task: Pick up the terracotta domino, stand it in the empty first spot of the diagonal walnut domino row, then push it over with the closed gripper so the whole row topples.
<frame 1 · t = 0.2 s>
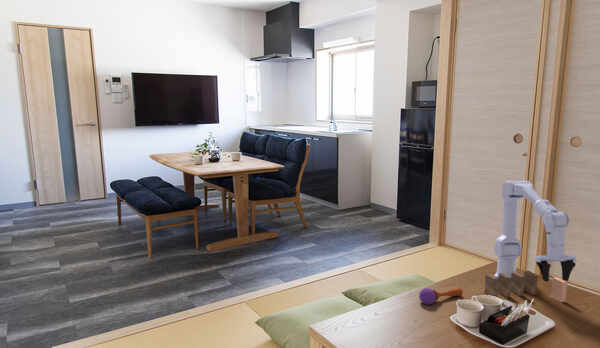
hand: (555, 280, 154), 10 cm above the table, tool pointing down, fingers open, 7 cm apart
walnut domino 3: (516, 293, 168), on the table
walnut domino 2: (529, 291, 169), on the table
terracotta domino: (557, 299, 163), on the table
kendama: (440, 300, 161), on the table
walnut domino 5: (490, 295, 166), on the table
walnut domino 4: (503, 294, 167), on the table
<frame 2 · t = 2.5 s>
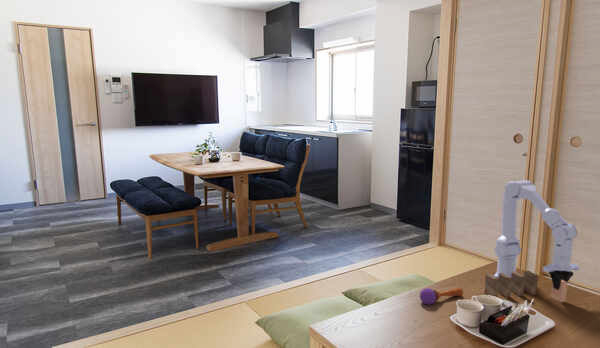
hand: (558, 288, 162), 4 cm above the table, tool pointing down, fingers closed on terracotta domino, 2 cm apart
terracotta domino: (557, 299, 163), on the table, touching gripper
everything else where it was.
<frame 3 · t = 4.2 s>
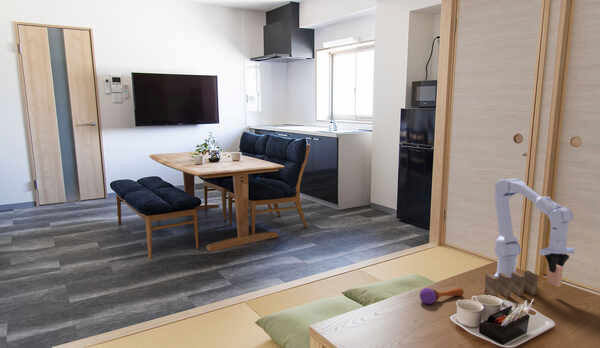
hand: (554, 271, 164), 10 cm above the table, tool pointing down, fingers closed on terracotta domino
terracotta domino: (553, 284, 164), point 5 cm above the table, touching gripper
everything else where it was.
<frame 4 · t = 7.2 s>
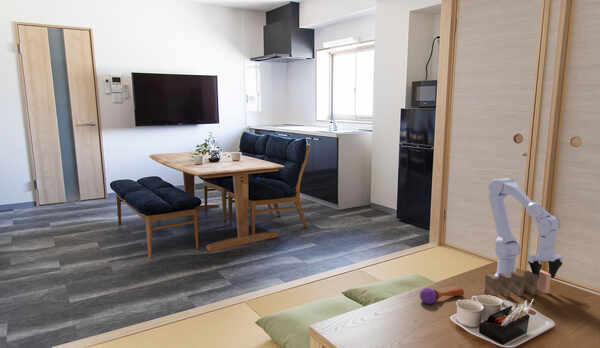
hand: (543, 277, 170), 6 cm above the table, tool pointing down, fingers open, 7 cm apart
terracotta domino: (542, 290, 170), on the table
everything else where it was.
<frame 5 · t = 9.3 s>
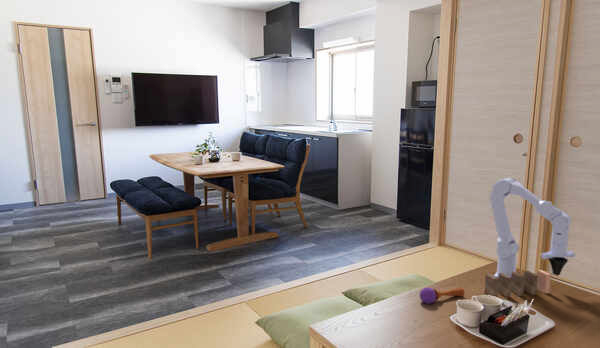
hand: (556, 274, 170), 7 cm above the table, tool pointing down, fingers closed
nothing on the table moved.
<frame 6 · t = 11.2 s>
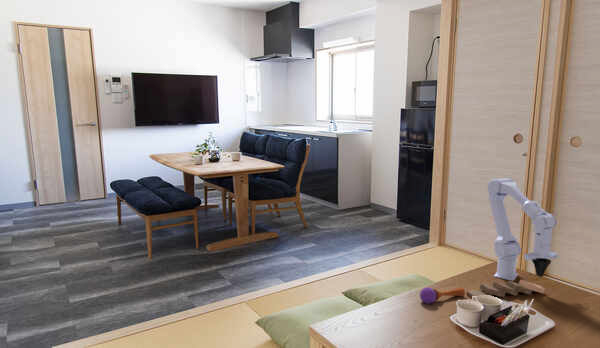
hand: (539, 275, 169), 7 cm above the table, tool pointing down, fingers closed
walnut domino 3: (513, 291, 168), point 1 cm above the table, tilted 70°, touching walnut domino 2
walnut domino 2: (527, 290, 169), point 1 cm above the table, tilted 71°, touching walnut domino 3
terracotta domino: (539, 288, 170), point 1 cm above the table, tilted 70°
walnut domino 5: (488, 294, 165), point 1 cm above the table, tilted 90°, touching walnut domino 4
walnut domino 4: (500, 292, 166), point 1 cm above the table, tilted 74°, touching walnut domino 5
everything else where it was.
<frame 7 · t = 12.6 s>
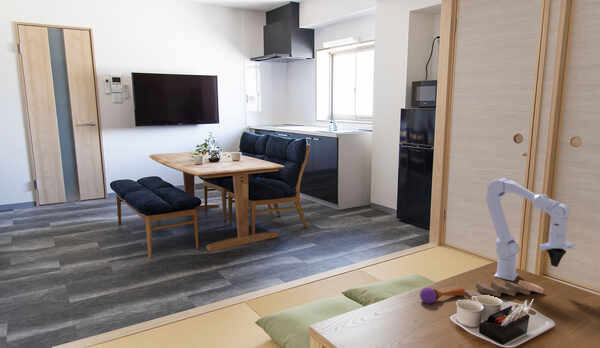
hand: (554, 265, 170), 10 cm above the table, tool pointing down, fingers closed
walnut domino 3: (511, 291, 167), point 1 cm above the table, tilted 70°, touching walnut domino 2, walnut domino 4
walnut domino 2: (525, 290, 168), point 1 cm above the table, tilted 71°, touching terracotta domino, walnut domino 3
terracotta domino: (538, 288, 170), point 1 cm above the table, tilted 71°, touching walnut domino 2
walnut domino 4: (497, 292, 166), point 1 cm above the table, tilted 75°, touching walnut domino 3, walnut domino 5
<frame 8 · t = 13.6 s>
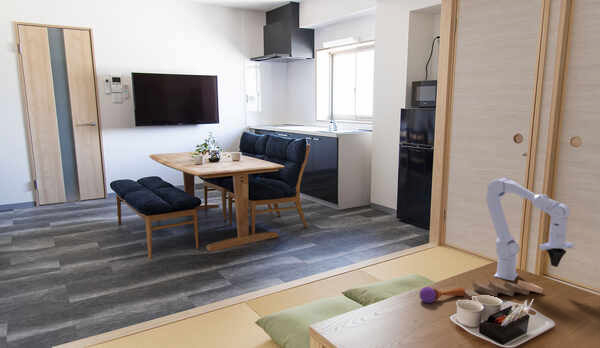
hand: (554, 265, 170), 10 cm above the table, tool pointing down, fingers closed
walnut domino 3: (509, 291, 167), point 1 cm above the table, tilted 71°, touching walnut domino 4
walnut domino 2: (524, 290, 168), point 1 cm above the table, tilted 72°, touching terracotta domino
walnut domino 5: (484, 294, 165), on the table, tilted 90°
walnut domino 4: (494, 291, 166), point 1 cm above the table, tilted 73°, touching walnut domino 3
everything else where it was.
at the end: walnut domino 5 tilted 90°; terracotta domino 1.9 cm from the target spot, point 0.9 cm above the table; terracotta domino tilted 72° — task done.
